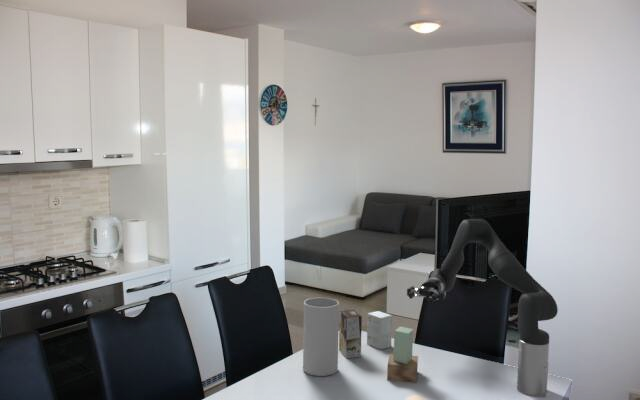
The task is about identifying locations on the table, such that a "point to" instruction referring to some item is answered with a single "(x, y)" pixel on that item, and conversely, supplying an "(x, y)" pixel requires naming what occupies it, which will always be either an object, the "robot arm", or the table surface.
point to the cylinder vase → (320, 336)
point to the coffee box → (350, 333)
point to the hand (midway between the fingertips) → (421, 297)
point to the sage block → (403, 345)
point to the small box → (379, 329)
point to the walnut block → (402, 370)
